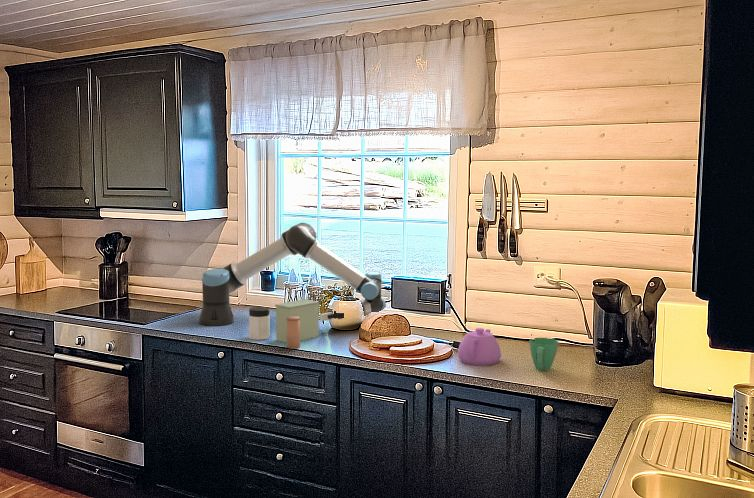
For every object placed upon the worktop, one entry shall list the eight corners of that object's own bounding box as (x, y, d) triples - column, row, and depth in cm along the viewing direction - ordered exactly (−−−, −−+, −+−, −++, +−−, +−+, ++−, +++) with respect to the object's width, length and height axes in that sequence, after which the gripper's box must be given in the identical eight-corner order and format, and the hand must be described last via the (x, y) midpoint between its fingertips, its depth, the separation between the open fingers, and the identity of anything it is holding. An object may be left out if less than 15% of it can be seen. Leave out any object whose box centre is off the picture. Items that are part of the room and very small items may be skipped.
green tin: (275, 340, 280) (275, 304, 278) (305, 333, 292) (305, 299, 291) (289, 343, 275) (289, 307, 273) (319, 336, 287) (319, 301, 285)
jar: (253, 341, 278) (253, 311, 276) (245, 336, 284) (245, 308, 283) (274, 338, 283) (273, 309, 282) (265, 334, 290) (265, 305, 288)
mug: (530, 363, 249) (531, 336, 248) (558, 366, 246) (559, 339, 245) (524, 374, 235) (525, 346, 234) (554, 378, 232) (555, 348, 231)
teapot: (491, 371, 239) (492, 337, 238) (448, 365, 246) (449, 332, 245) (508, 356, 259) (509, 324, 258) (468, 351, 266) (469, 320, 264)
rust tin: (283, 347, 269) (283, 317, 267) (293, 344, 273) (293, 315, 271) (292, 349, 265) (292, 319, 264) (302, 346, 269) (302, 317, 268)
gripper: (369, 320, 307) (331, 328, 289) (347, 315, 315) (310, 324, 297) (369, 303, 306) (332, 311, 288) (348, 299, 314) (310, 306, 296)
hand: (320, 317), depth 293 cm, fingers closed
